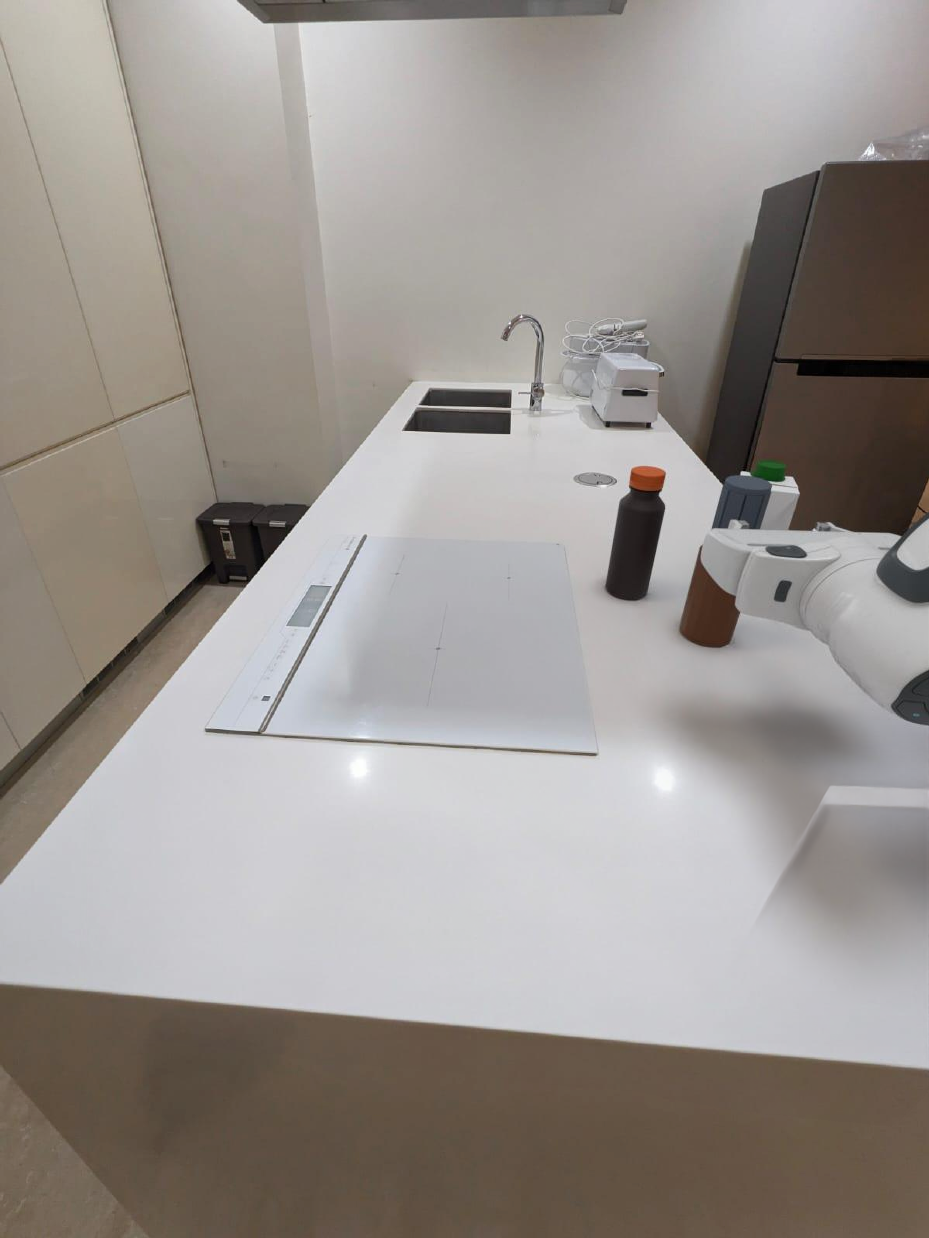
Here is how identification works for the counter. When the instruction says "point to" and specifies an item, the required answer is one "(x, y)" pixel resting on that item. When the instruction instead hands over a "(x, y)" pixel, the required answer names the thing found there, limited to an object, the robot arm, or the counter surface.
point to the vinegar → (636, 534)
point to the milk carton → (777, 494)
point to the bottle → (708, 610)
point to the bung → (742, 501)
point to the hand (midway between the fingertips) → (777, 527)
